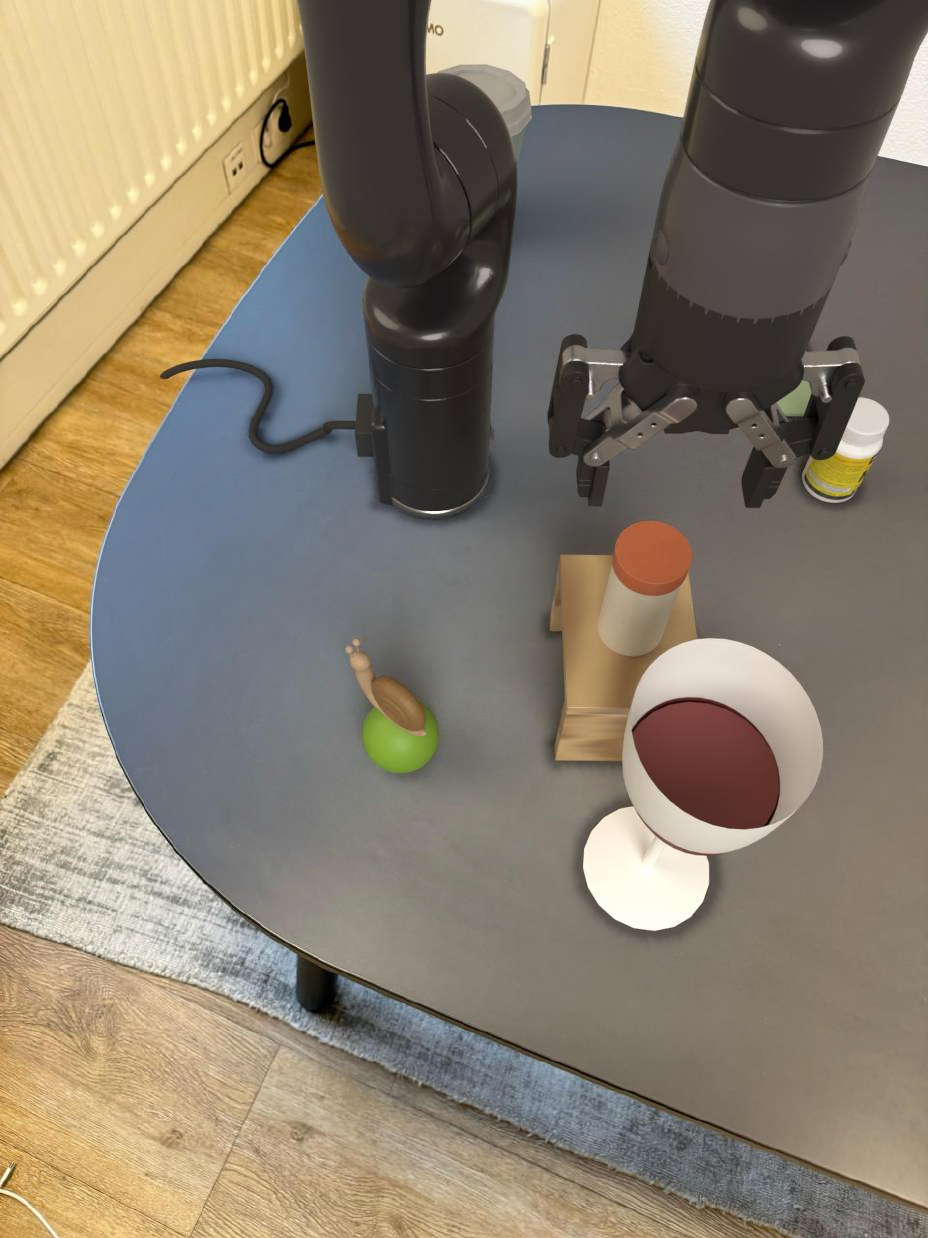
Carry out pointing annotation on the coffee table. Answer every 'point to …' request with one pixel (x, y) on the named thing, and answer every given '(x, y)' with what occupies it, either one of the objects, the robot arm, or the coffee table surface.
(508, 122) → the disposable coffee cup
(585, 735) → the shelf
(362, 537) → the coffee table surface
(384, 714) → the snail figurine
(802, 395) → the mat
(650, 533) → the spice bottle
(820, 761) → the wineglass
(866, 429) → the supplement bottle
